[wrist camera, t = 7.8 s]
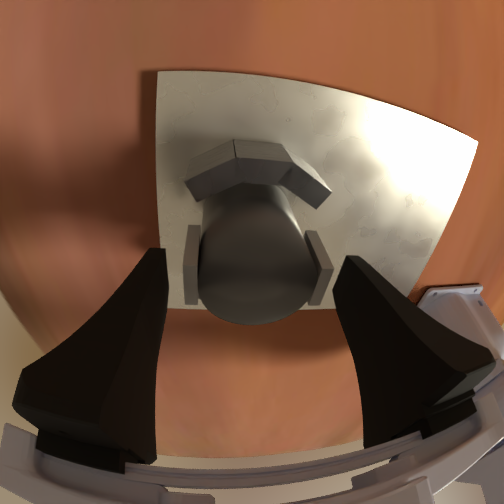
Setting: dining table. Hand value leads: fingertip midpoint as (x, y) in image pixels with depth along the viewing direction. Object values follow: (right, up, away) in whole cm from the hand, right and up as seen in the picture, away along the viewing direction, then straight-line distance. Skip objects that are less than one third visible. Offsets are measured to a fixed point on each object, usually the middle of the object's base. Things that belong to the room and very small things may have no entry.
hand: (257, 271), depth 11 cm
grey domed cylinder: (0, +3, +3) cm, 4 cm away
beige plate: (+4, +3, +5) cm, 7 cm away
